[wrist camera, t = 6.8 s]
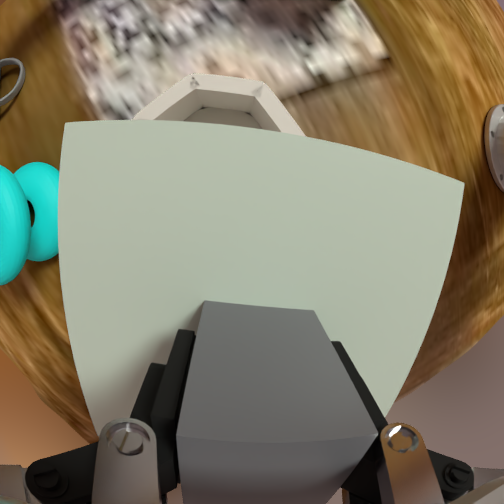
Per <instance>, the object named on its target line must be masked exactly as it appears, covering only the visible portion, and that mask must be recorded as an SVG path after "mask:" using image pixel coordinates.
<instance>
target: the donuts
mask: <svg viewBox="0 0 504 504" xmlns="http://www.w3.org/2000/svg"><path fill="white" fill-rule="evenodd" d="M59 173H60V172H59V171H58V170H57V169H56V168H54V167H53V166H51V165H49V164H46V163H42V162H33V163H29V164H27V165H24V166H22V167H21V168H20V169H18V170H17V171H16V172H15V173H14V174H12V173H11V172H10V171H9V170H8V169H7V168H5V167H3V166H1V165H0V285H4V284H7V283H9V282H10V281H12V280H13V279H14V278H15V277H16V276H17V275H18V274H19V273H20V271H21V270H22V268H23V266H24V264H25V262H26V259H29V260H32V261H45V260H48V259H51V258H52V257H54V256H55V255H57V254H58V253H59V248H58V189H59ZM27 200H29V201H30V202H31V203H32V205H33V207H34V211H35V221H34V225H33V227H31V220H30V212H29V207H28V203H27Z"/></svg>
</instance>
